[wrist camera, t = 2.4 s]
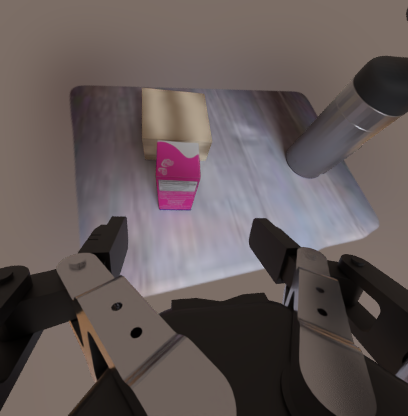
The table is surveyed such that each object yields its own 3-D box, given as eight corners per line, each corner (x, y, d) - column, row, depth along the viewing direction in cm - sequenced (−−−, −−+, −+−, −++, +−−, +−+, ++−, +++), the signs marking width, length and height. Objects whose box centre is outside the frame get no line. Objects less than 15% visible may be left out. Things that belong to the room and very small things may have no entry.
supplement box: (158, 181, 35) (156, 137, 25) (190, 183, 37) (201, 142, 26) (157, 210, 33) (155, 175, 23) (191, 211, 34) (203, 178, 24)
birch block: (199, 117, 44) (204, 94, 38) (205, 161, 40) (212, 141, 34) (144, 114, 41) (142, 87, 36) (145, 160, 37) (142, 138, 31)
